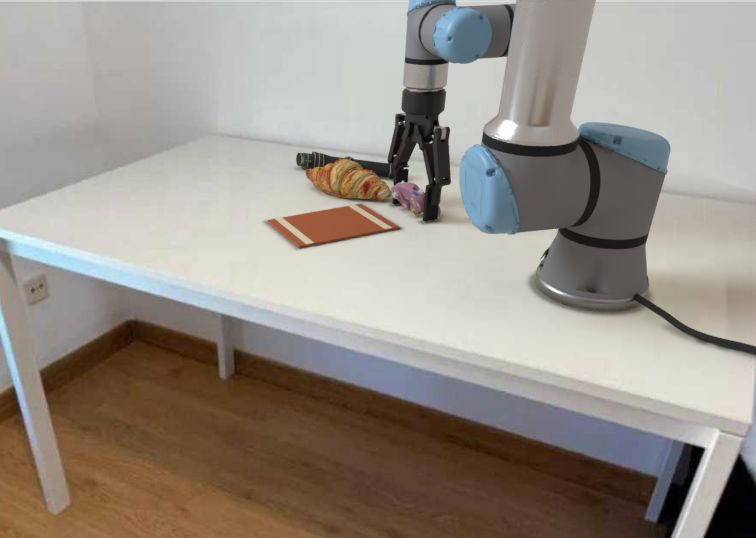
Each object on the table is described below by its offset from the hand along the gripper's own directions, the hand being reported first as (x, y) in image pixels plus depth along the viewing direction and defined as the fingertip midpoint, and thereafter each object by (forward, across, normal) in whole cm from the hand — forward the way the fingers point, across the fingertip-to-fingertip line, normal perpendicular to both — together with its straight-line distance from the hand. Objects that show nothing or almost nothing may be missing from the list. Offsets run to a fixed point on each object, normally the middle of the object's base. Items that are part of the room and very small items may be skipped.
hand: (414, 211), depth 130 cm
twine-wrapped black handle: (0, +28, 0) cm, 28 cm away
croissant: (0, +16, +6) cm, 17 cm away
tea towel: (0, +1, +17) cm, 17 cm away
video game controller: (0, 0, 0) cm, 0 cm away
